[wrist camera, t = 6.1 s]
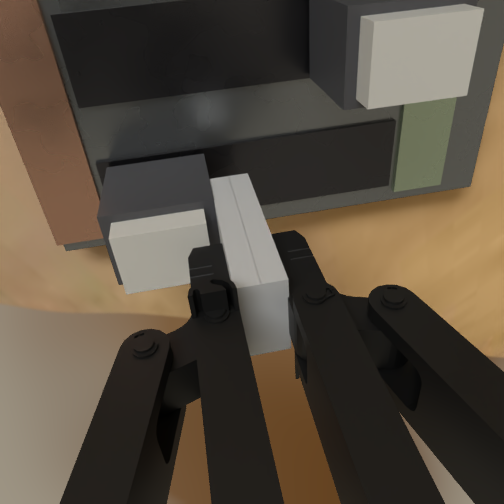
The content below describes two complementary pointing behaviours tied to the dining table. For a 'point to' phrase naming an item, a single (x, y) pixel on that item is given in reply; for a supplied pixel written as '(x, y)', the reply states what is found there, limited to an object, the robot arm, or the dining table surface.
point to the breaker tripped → (156, 220)
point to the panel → (216, 106)
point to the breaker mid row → (392, 50)
